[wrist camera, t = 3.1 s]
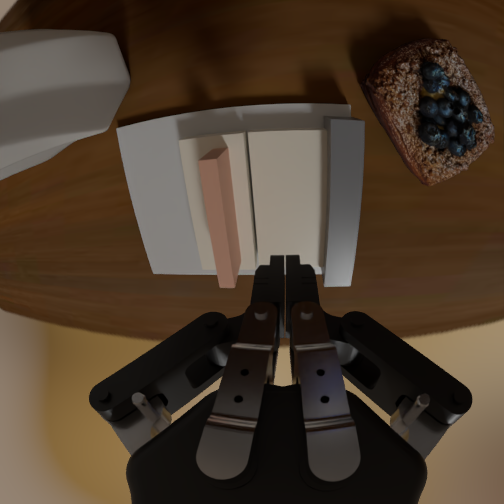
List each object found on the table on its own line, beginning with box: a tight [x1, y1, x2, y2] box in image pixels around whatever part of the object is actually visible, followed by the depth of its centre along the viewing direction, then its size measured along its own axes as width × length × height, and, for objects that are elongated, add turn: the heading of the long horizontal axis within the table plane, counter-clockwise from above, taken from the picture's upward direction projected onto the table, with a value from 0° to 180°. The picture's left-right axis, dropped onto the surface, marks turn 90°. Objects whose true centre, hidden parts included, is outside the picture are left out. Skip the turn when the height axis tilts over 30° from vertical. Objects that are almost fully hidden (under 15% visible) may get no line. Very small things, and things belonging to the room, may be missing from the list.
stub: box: [178, 131, 257, 288], centre depth 21 cm, size 5×12×5 cm, turn 5°
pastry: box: [360, 38, 494, 186], centre depth 15 cm, size 11×12×6 cm
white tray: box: [117, 103, 365, 287], centre depth 22 cm, size 20×16×4 cm
